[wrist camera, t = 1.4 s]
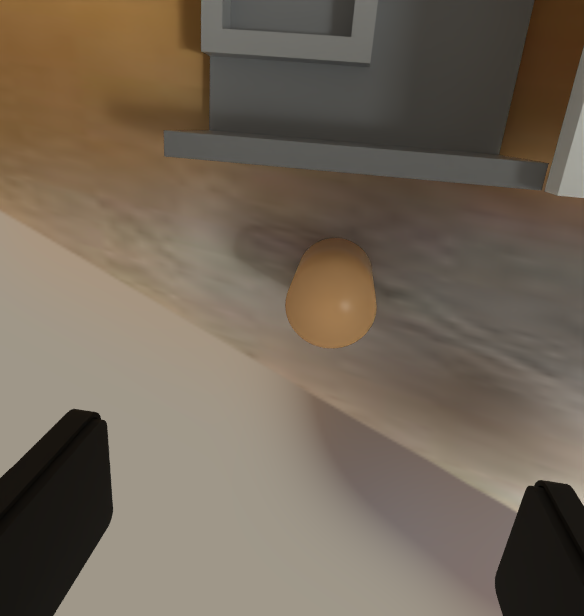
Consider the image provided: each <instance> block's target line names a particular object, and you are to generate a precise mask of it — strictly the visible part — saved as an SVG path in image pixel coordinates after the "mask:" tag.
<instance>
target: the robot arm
mask: <svg viewBox="0 0 584 616" xmlns="http://www.w3.org/2000/svg"><path fill="white" fill-rule="evenodd" d="M112 513H113V503H112V489H111V474H110V461H109V446H108V432H107V423H106V421H105V420H101V418H100V415H99V414H98V413H96V412H91V411H84V410H78V409H72V410H70V411H69V412H68V413H66V414H65V416H63V417H62V418H61V420H59V421H58V423H57V424H55V425H54V426H53V427H52V428H51V430H49V431H48V432H47V433H46V434H45V435H44V436H43V437H42V438H41V440H39V441H38V442H37V443H36V444H35V445H34V446H33V447H32V448H31V449H30V450H29V451H28V452H27V453H26V454H25V455H24V456H23V457H22V458H21V459H20V460H19V461H18V462H17V463H16V464H15V465H14V466H13V467H12V468H11V469H9V470H8V471H7V472H6V473H5V474H4V475H3V476H2V477H1V478H0V616H53V615H54V614H55V612H56V610H57V609H58V607H59V605H60V604H61V602H62V600H63V599H64V597H65V595H66V594H67V592H68V591H69V589H70V588H71V586H72V584H73V583H74V581H75V579H76V578H77V576H78V575H79V573H80V571H81V570H82V568H83V567H84V565H85V563H86V562H87V560H88V558H89V557H90V555H91V554H92V552H93V550H94V549H95V547H96V545H97V544H98V542H99V541H100V539H101V537H102V536H103V534H104V532H105V531H106V529H107V528H108V526H109V524H110V521H111V518H112ZM495 589H496V594H497V598H498V601H499V604H500V608H501V611H502V614H503V616H584V506H583V504H582V503H581V501H580V499H579V498H578V496H577V494H576V493H575V491H574V490H573V488H572V487H571V486H570V485H568V484H563V483H556V482H550V481H543V480H539V481H537V482H536V483H535V485H534V486H528V487H527V489H526V491H525V493H524V496H523V499H522V502H521V505H520V507H519V510H518V513H517V516H516V519H515V522H514V525H513V527H512V530H511V533H510V536H509V539H508V541H507V544H506V547H505V550H504V553H503V556H502V559H501V561H500V564H499V567H498V570H497V573H496V577H495Z"/></svg>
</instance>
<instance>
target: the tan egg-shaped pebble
mask: <svg viewBox="0 0 584 616" xmlns="http://www.w3.org/2000/svg"><path fill="white" fill-rule="evenodd" d="M285 306H286V314H287V317H288V320H289V323H290V324H291V326H292V328H293V329H294V331H295V332H296V333H297V334H298V335H299V336H300V337H301V338H302V339H304V340H305V341H307V342H309V343H311V344H313V345H316V346H319V347H323V348H341V347H345V346H348V345H351V344H353V343H355V342H356V341H358V340H359V339H361V338H362V337H363V336H364V335H365V334H366V333H367V332H368V331H369V329H370V327H371V326H372V324H373V322H374V319H375V315H376V297H375V289H374V282H373V274H372V267H371V263H370V260H369V258H368V256H367V255H366V253H365V252H364V251H363V250H362V249H361V248H360V247H359V246H358V245H356V244H355V243H353V242H351V241H349V240H346V239H341V238H329V239H324V240H321V241H319V242H317V243H315V244H314V245H312V246H311V247H310V248H309V249H308V250H307V251H306V252H305V253H304V255H303V256H302V258H301V260H300V263H299V265H298V268H297V270H296V273H295V275H294V278H293V280H292V283H291V285H290V288H289V290H288V293H287V297H286V304H285Z"/></svg>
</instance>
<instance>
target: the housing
mask: <svg viewBox="0 0 584 616" xmlns="http://www.w3.org/2000/svg"><path fill="white" fill-rule="evenodd" d="M533 5H534V0H201V52H203V53H205V54H207V55H209V56H210V117H209V130H164V156H166V157H177V158H188V159H199V160H210V161H221V162H233V163H244V164H255V165H266V166H277V167H288V168H299V169H310V170H321V171H332V172H343V173H354V174H365V175H376V176H387V177H398V178H409V179H420V180H431V181H443V182H454V183H465V184H476V185H487V186H498V187H509V188H520V189H531V190H542V186H543V183H544V179H545V175H546V171H547V168H548V164H549V163H544V162H538V161H532V160H527V159H521V158H515V157H509V156H503V155H499V153H500V148H501V144H502V140H503V135H504V131H505V127H506V122H507V118H508V114H509V109H510V105H511V100H512V96H513V92H514V87H515V83H516V79H517V74H518V70H519V66H520V61H521V57H522V53H523V48H524V44H525V39H526V35H527V31H528V26H529V22H530V18H531V13H532V9H533Z"/></svg>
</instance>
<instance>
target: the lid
mask: <svg viewBox="0 0 584 616" xmlns="http://www.w3.org/2000/svg"><path fill="white" fill-rule="evenodd" d="M545 192H548V193H551V194H554V195H557V196H567V197H578V198H584V47H583V51H582V55H581V58H580V62H579V66H578V69H577V73H576V77H575V80H574V84H573V88H572V91H571V95H570V99H569V103H568V106H567V110H566V114H565V117H564V121H563V125H562V128H561V132H560V136H559V139H558V143H557V147H556V150H555V154H554V158H553V161H552V165H551V169H550V172H549V176H548V180H547V184H546V187H545Z"/></svg>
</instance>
